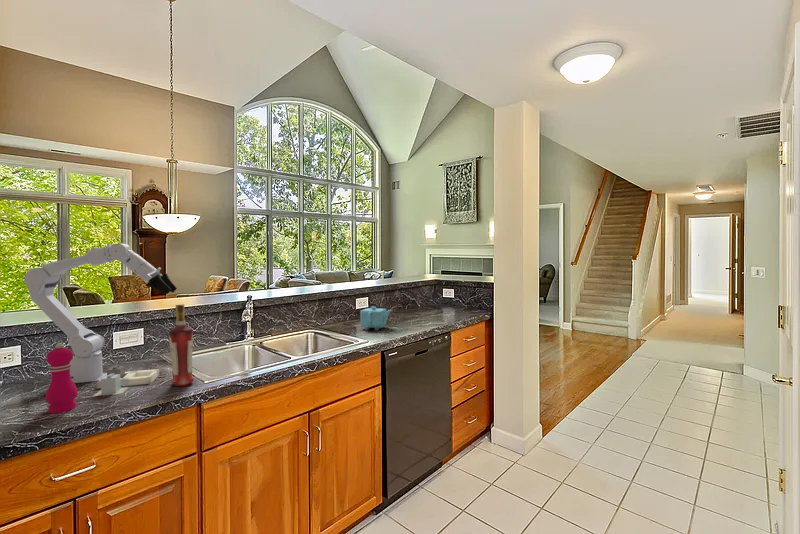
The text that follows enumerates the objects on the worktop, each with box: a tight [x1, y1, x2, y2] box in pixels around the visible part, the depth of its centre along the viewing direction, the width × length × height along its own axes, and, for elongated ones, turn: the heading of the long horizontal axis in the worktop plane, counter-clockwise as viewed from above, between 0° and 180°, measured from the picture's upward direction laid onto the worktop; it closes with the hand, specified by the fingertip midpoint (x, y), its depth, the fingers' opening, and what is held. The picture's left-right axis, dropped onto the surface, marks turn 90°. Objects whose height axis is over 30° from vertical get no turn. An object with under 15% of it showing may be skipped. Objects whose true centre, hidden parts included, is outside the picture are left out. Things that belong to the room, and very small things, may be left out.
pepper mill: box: [45, 342, 79, 414], centre depth 115 cm, size 7×7×20 cm
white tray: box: [96, 364, 160, 389], centre depth 139 cm, size 16×10×6 cm, turn 107°
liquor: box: [168, 303, 195, 388], centre depth 136 cm, size 7×7×28 cm
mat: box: [93, 386, 129, 397], centre depth 129 cm, size 8×6×1 cm
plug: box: [100, 373, 122, 394], centre depth 129 cm, size 4×4×6 cm
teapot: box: [360, 305, 393, 331], centre depth 228 cm, size 18×16×13 cm
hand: (172, 291), depth 148 cm, fingers open, 7 cm apart
